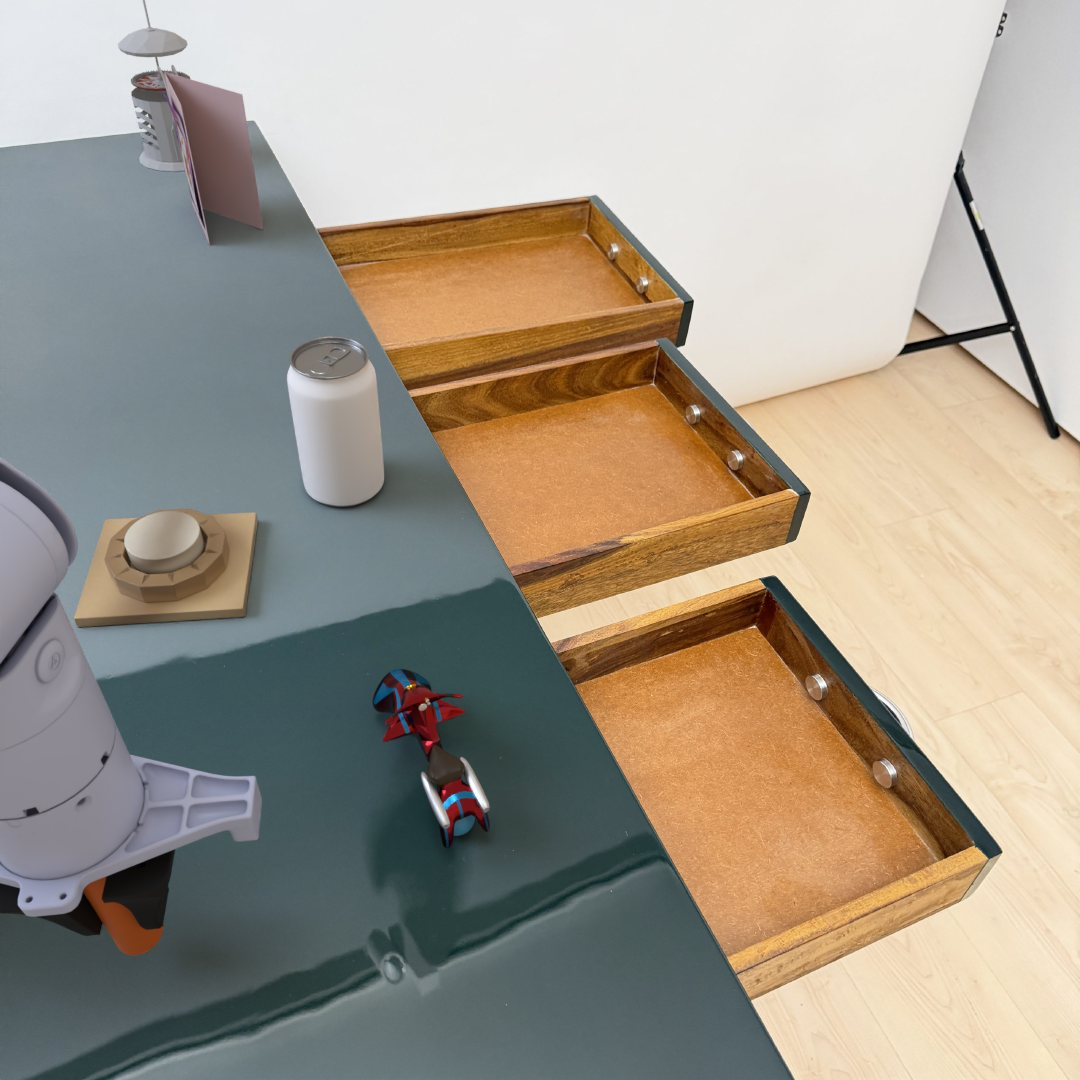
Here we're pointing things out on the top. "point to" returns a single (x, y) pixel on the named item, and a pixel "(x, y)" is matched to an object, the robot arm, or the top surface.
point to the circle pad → (164, 542)
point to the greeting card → (215, 150)
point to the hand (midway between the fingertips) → (127, 911)
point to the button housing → (171, 576)
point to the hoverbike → (433, 751)
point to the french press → (155, 96)
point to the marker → (121, 922)
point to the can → (336, 420)
